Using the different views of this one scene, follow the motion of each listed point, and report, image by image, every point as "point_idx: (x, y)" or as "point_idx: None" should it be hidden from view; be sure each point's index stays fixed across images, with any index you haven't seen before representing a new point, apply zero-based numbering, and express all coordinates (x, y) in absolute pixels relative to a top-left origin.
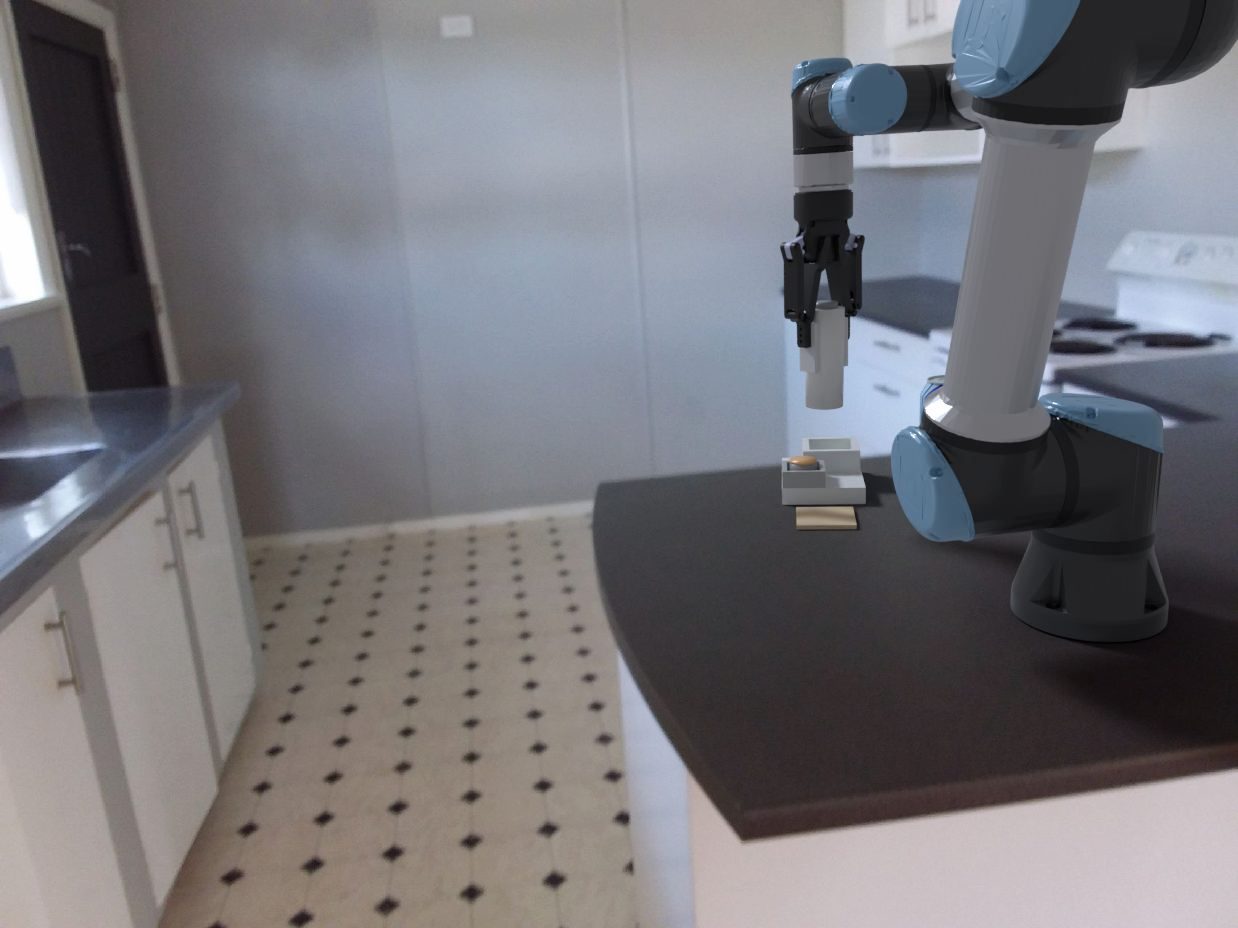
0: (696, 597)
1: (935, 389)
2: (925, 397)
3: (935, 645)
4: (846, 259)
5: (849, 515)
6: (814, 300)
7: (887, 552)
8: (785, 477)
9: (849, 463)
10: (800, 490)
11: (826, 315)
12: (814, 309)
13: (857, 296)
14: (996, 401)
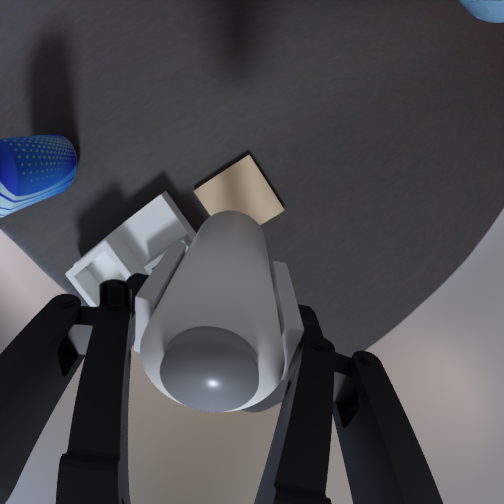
0: (457, 198)
1: (5, 183)
2: (16, 195)
3: (436, 17)
4: (61, 481)
5: (223, 178)
6: (311, 386)
7: (297, 95)
8: None
9: (119, 244)
10: None
11: (272, 321)
12: (306, 362)
13: (56, 322)
14: None
